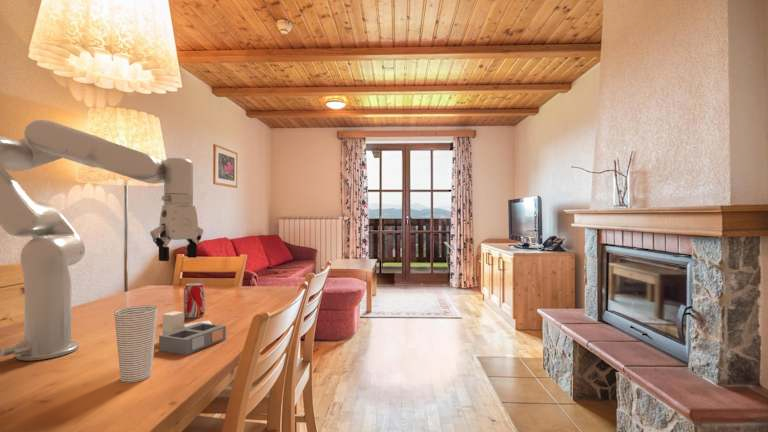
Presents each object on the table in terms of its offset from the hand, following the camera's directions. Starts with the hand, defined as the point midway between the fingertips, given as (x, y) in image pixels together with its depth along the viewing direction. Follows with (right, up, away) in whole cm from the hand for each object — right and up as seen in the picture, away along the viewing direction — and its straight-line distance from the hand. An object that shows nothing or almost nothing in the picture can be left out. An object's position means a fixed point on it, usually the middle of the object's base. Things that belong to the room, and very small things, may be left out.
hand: (178, 259), depth 113 cm
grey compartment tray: (+6, -24, -2) cm, 25 cm away
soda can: (-10, -25, +29) cm, 39 cm away
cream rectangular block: (-2, -24, +2) cm, 25 cm away
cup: (+4, -25, -25) cm, 35 cm away
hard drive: (+1, -25, +13) cm, 28 cm away
